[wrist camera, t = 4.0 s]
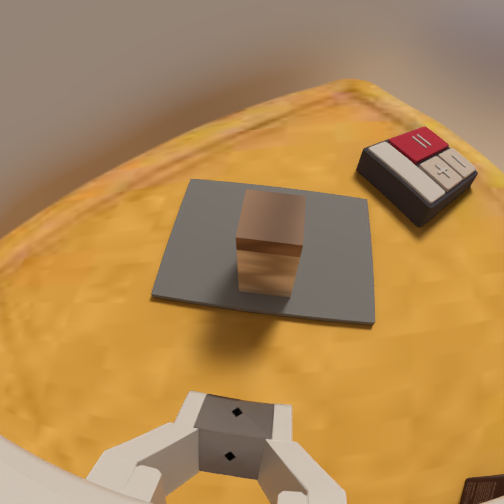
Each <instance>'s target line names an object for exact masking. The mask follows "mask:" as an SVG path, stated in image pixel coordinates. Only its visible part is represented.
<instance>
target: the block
mask: <svg viewBox="0 0 504 504" xmlns="http://www.w3.org/2000/svg"><path fill="white" fill-rule="evenodd" d="M305 205H306V196H301V195H293V194H284V193H276V192H267V191H258V190H249V189H246V192H245V196H244V201H243V206H242V210H241V215H240V219H239V224H238V229H237V233H236V251H237V267H238V282H239V291H241V292H249V293H256V294H264V295H272V296H280V297H289V298H290V297H291V293H292V289H293V285H294V281H295V277H296V273H297V269H298V265H299V261H300V256H301V252H302V248H303V239H304V223H305Z"/></svg>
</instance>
